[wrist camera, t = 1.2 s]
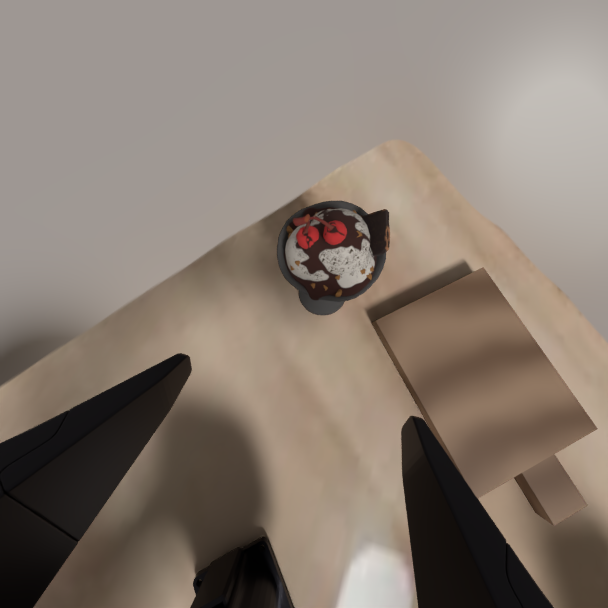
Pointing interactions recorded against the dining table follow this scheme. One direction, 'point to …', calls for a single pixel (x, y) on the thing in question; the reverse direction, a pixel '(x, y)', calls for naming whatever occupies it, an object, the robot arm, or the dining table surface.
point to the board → (488, 392)
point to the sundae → (333, 253)
